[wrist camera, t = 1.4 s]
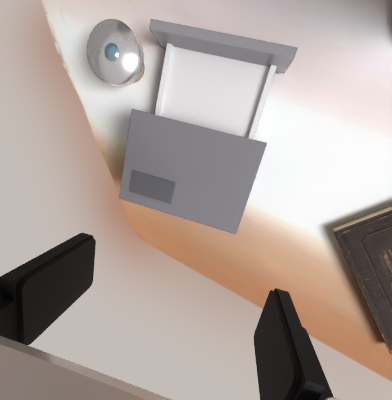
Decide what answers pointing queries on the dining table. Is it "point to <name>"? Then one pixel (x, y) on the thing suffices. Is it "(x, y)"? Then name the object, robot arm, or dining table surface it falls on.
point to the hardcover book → (371, 264)
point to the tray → (216, 77)
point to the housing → (189, 170)
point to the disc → (115, 53)
